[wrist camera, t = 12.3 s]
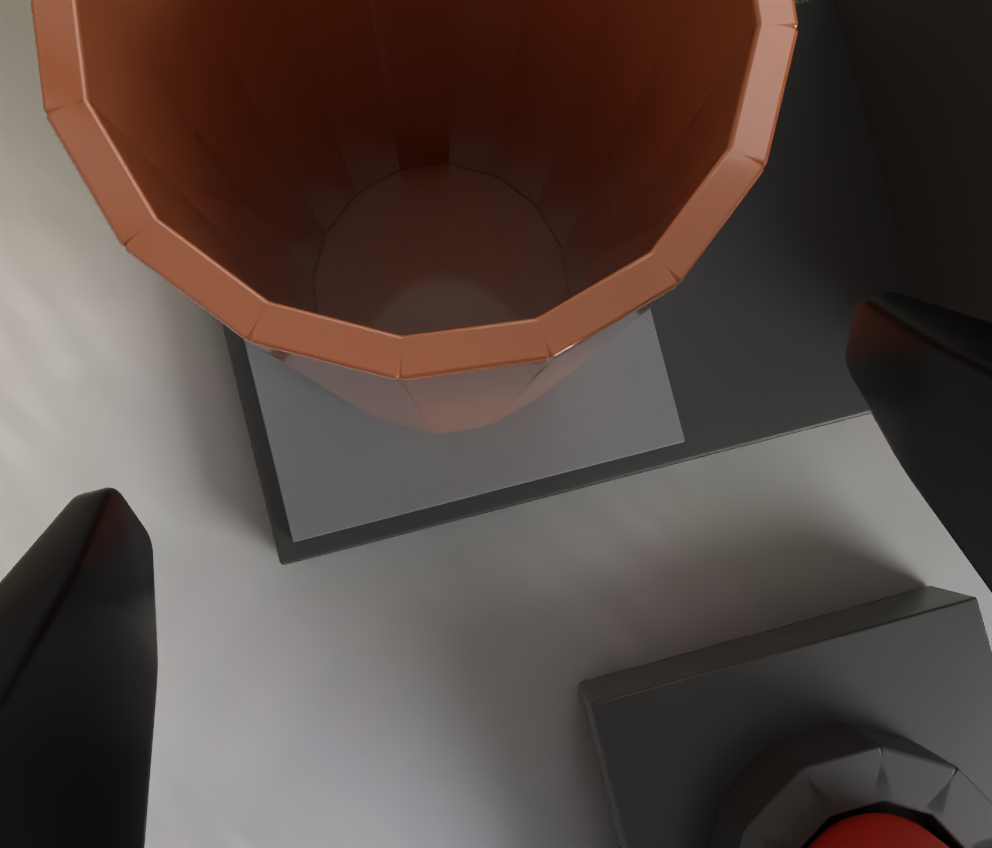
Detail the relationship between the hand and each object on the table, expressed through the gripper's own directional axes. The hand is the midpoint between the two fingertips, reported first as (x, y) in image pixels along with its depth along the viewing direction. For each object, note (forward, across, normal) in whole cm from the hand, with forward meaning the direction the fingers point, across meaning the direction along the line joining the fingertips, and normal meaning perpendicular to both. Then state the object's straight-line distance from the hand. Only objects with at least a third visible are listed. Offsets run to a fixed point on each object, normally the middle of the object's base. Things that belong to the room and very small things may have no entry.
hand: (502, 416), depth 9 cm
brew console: (0, -6, +17) cm, 18 cm away
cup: (+10, 0, +4) cm, 11 cm away
